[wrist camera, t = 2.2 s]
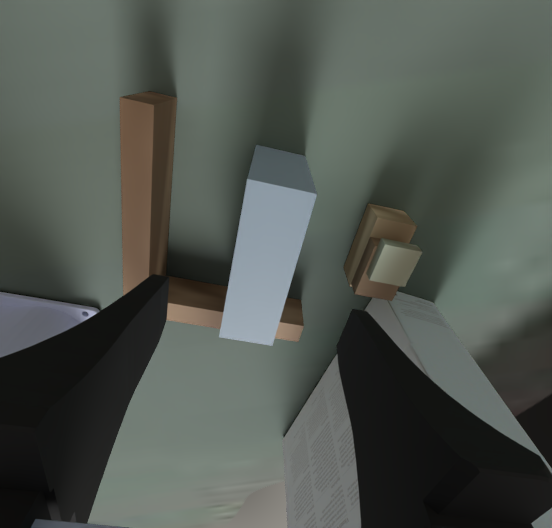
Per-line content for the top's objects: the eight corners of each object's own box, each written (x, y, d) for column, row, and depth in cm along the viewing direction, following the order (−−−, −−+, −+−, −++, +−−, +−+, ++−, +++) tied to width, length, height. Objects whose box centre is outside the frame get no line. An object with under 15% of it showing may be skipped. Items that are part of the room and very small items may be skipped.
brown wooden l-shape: (144, 288, 25) (123, 323, 22) (148, 90, 18) (118, 96, 15) (296, 314, 26) (299, 352, 23) (352, 139, 20) (369, 155, 16)
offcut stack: (343, 267, 24) (355, 305, 20) (368, 203, 22) (387, 232, 18) (376, 273, 24) (394, 312, 20) (404, 211, 22) (430, 241, 18)
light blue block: (233, 269, 24) (219, 336, 18) (256, 144, 20) (247, 178, 14) (273, 277, 25) (272, 345, 19) (305, 155, 20) (317, 194, 14)
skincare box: (328, 448, 36) (360, 683, 22) (281, 438, 35) (284, 676, 21) (442, 302, 26) (630, 569, 12) (380, 282, 25) (507, 547, 11)
